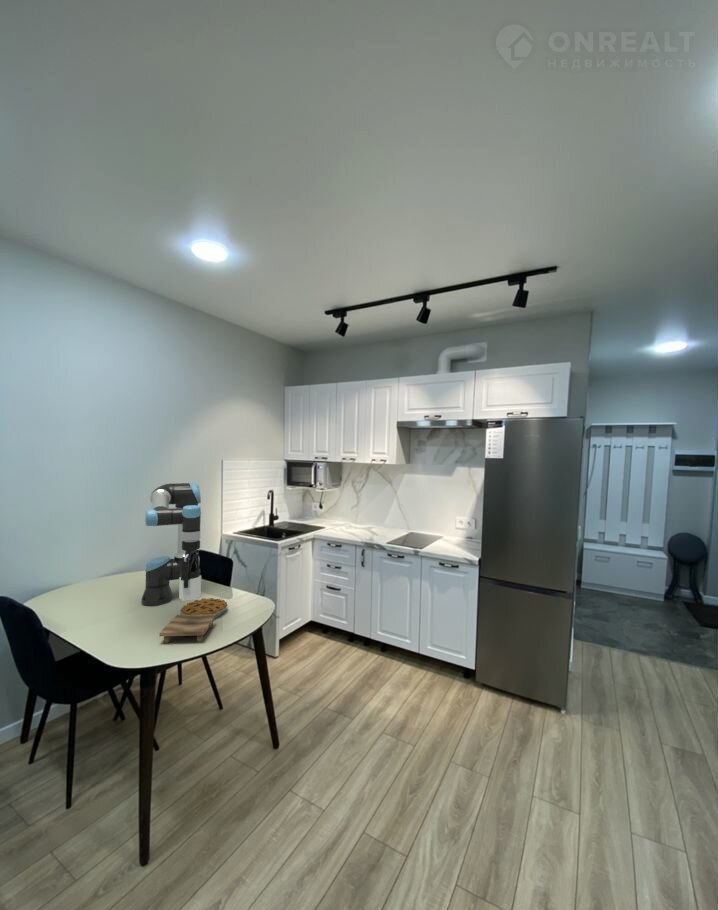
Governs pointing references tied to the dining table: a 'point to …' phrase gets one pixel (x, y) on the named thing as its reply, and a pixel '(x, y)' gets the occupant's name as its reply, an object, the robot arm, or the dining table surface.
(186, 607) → the pie
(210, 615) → the wooden serving stand
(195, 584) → the jar
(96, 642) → the dining table surface
